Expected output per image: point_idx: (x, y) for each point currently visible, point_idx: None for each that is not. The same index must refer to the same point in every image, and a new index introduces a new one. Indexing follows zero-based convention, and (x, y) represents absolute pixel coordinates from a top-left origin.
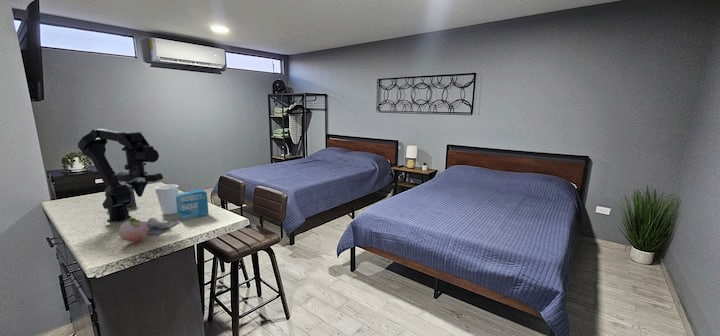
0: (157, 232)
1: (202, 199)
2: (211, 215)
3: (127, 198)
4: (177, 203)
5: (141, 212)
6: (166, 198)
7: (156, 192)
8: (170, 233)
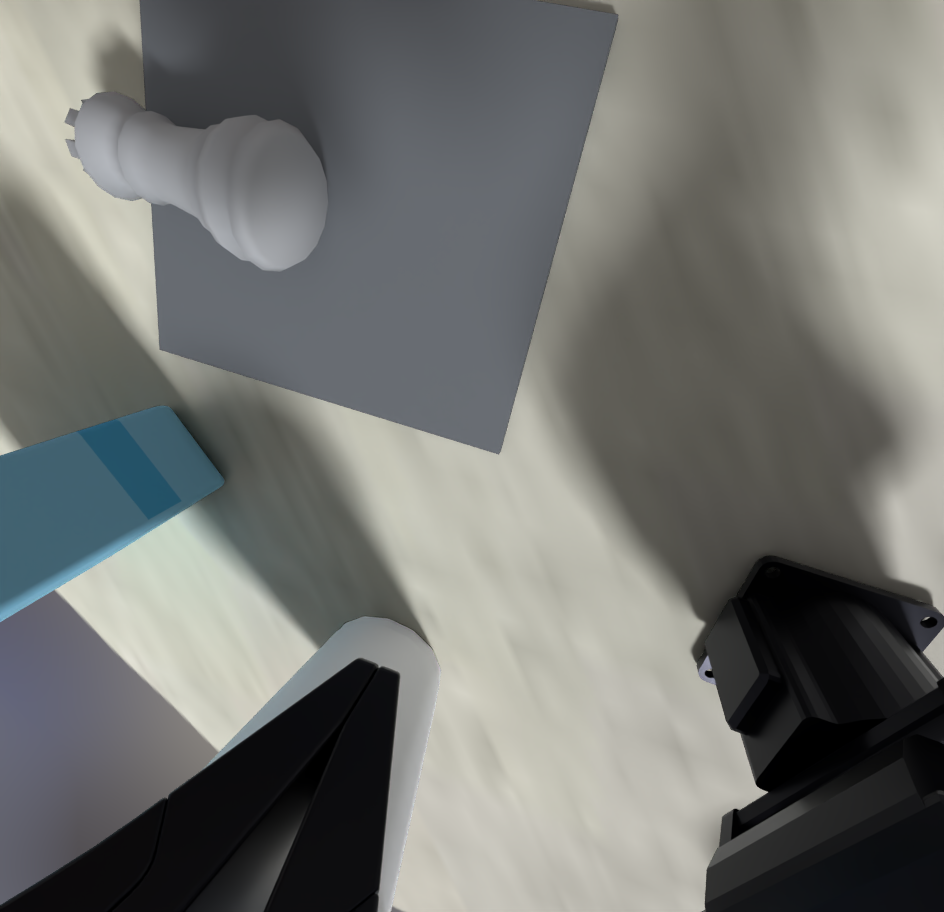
0: (181, 20)
1: None
2: None
3: (747, 869)
4: (44, 514)
5: (642, 756)
6: None
7: None
8: (68, 5)
